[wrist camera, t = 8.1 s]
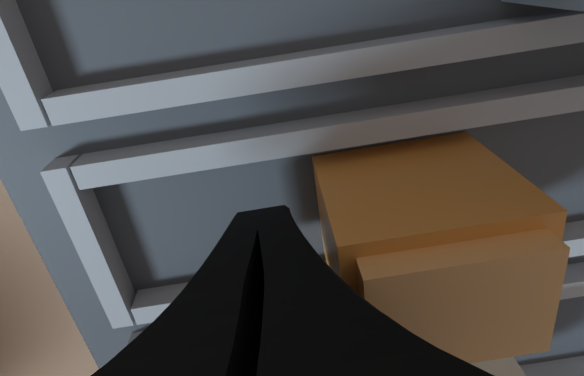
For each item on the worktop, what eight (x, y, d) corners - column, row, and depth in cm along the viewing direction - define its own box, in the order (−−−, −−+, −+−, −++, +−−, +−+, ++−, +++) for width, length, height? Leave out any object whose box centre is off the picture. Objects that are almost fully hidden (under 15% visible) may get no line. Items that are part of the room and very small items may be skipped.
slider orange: (460, 229, 12) (562, 359, 8) (323, 250, 12) (356, 391, 8) (466, 131, 11) (592, 230, 7) (311, 156, 11) (343, 269, 7)
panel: (618, 340, 17) (660, 384, 15) (145, 414, 17) (132, 466, 15) (805, -265, 9) (947, -326, 7) (-108, -118, 9) (-204, -141, 7)
